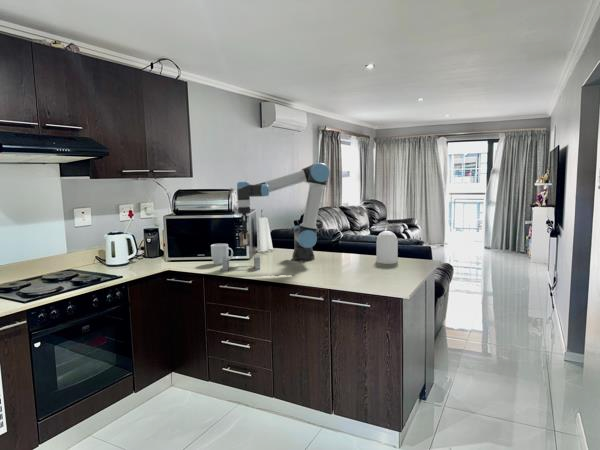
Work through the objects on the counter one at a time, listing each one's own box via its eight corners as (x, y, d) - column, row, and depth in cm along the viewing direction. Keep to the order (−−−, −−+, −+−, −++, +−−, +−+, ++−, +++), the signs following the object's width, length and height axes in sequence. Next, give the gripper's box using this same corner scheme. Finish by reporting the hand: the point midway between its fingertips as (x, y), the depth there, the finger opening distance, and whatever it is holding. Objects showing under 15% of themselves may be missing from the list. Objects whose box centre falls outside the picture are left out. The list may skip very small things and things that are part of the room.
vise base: (261, 267, 256) (261, 265, 256) (262, 272, 245) (261, 269, 244) (220, 269, 254) (220, 267, 254) (219, 274, 242) (219, 271, 242)
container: (372, 261, 269) (372, 230, 266) (387, 258, 276) (387, 228, 274) (386, 264, 257) (387, 232, 255) (402, 261, 265) (402, 230, 262)
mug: (228, 261, 278) (228, 242, 276) (237, 263, 270) (236, 244, 268) (208, 264, 269) (207, 244, 267) (216, 267, 260) (215, 246, 259)
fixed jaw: (229, 268, 252) (229, 256, 252) (228, 271, 244) (228, 259, 243) (223, 268, 252) (223, 257, 251) (222, 271, 244) (222, 259, 243)
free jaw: (260, 266, 254) (259, 255, 254) (260, 269, 246) (259, 257, 245) (254, 266, 254) (254, 255, 253) (254, 269, 246) (254, 257, 245)
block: (250, 244, 263) (249, 231, 262) (249, 246, 257) (249, 233, 256) (240, 244, 262) (240, 232, 261) (240, 246, 256) (239, 233, 255)
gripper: (238, 205, 266) (240, 241, 268) (237, 207, 247) (238, 246, 250) (250, 205, 266) (251, 240, 269) (249, 207, 248) (251, 245, 250)
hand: (245, 243), depth 259 cm, fingers closed on block, 6 cm apart
